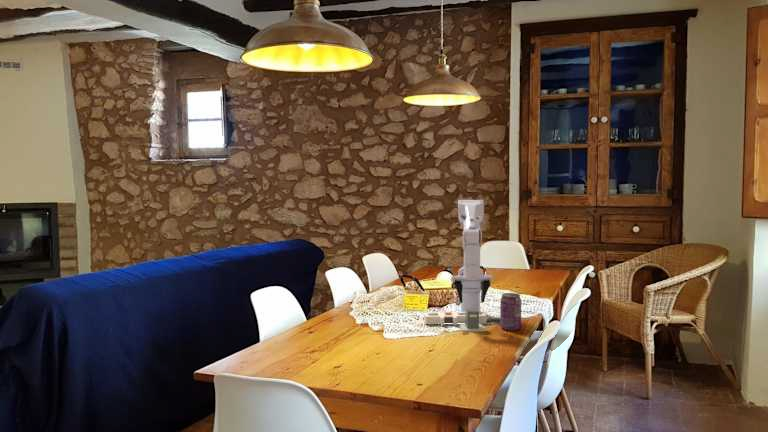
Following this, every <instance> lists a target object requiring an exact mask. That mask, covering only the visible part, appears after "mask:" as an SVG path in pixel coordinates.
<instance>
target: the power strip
mask: <svg viewBox="0 0 768 432" xmlns="http://www.w3.org/2000/svg"><path fill="white" fill-rule="evenodd" d="M487 317H488V316H487V314H486V313H485V312H484V311H480V312H479V324H481V325H483V324H484V325H487V322H500V317H499V318H487ZM424 320H425V322H424V324H425V323H426V324H438V323H439V324H441V325H444V323H453V324H452V326H453V325H457V326H458V324H457V323H465V312H459V311H454V312H453V311H445V312H442V311H441V312H439V311H438V312H424V313H423V321H424ZM426 324H425V325H426ZM444 326H445V325H444Z"/></svg>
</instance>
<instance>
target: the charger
mask: <svg viewBox="0 0 768 432" xmlns="http://www.w3.org/2000/svg"><path fill="white" fill-rule="evenodd" d="M465 326H466V327H467V329H476V328H479V311H478V310H477V309H465Z"/></svg>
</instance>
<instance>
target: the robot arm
mask: <svg viewBox="0 0 768 432" xmlns="http://www.w3.org/2000/svg"><path fill="white" fill-rule="evenodd" d="M484 211H485V203H484V200H483V199H459V200H458V201H457V215H458V216H457V217H458V221H459V222H460V223H462V224H463V231H462V247H463V250H462V251H463V266H462V267H460V268H459V269H458V271H457V273H458V274H457V275H450V282H451V283H453V285H454V287H455V289H456V292H457V295H458V301H459V303H460V309H461V312H465V309H477V310H478V311H479V312H481V303H485V300H486V296H487V292H488V291H489V288H490V287H491V282H494V276H493V275H492V274H484V271H483V269H482V268H481V246H482V241H483V240H482V239H483V235H482V233H483V232H482V229H481V226H480V223H481V222H483V220H484V214H485V212H484Z"/></svg>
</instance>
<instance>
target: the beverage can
mask: <svg viewBox="0 0 768 432" xmlns="http://www.w3.org/2000/svg"><path fill="white" fill-rule="evenodd" d="M499 306H500V313H499V314H500V317H499V318H500V321H499V322H500V325H499V326H500V328H502V329H503V330H506V331H517V330H519V329H521V328H522V299H521V294H519V293H513V292H506V293H502V294H501V297H500V305H499Z"/></svg>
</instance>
